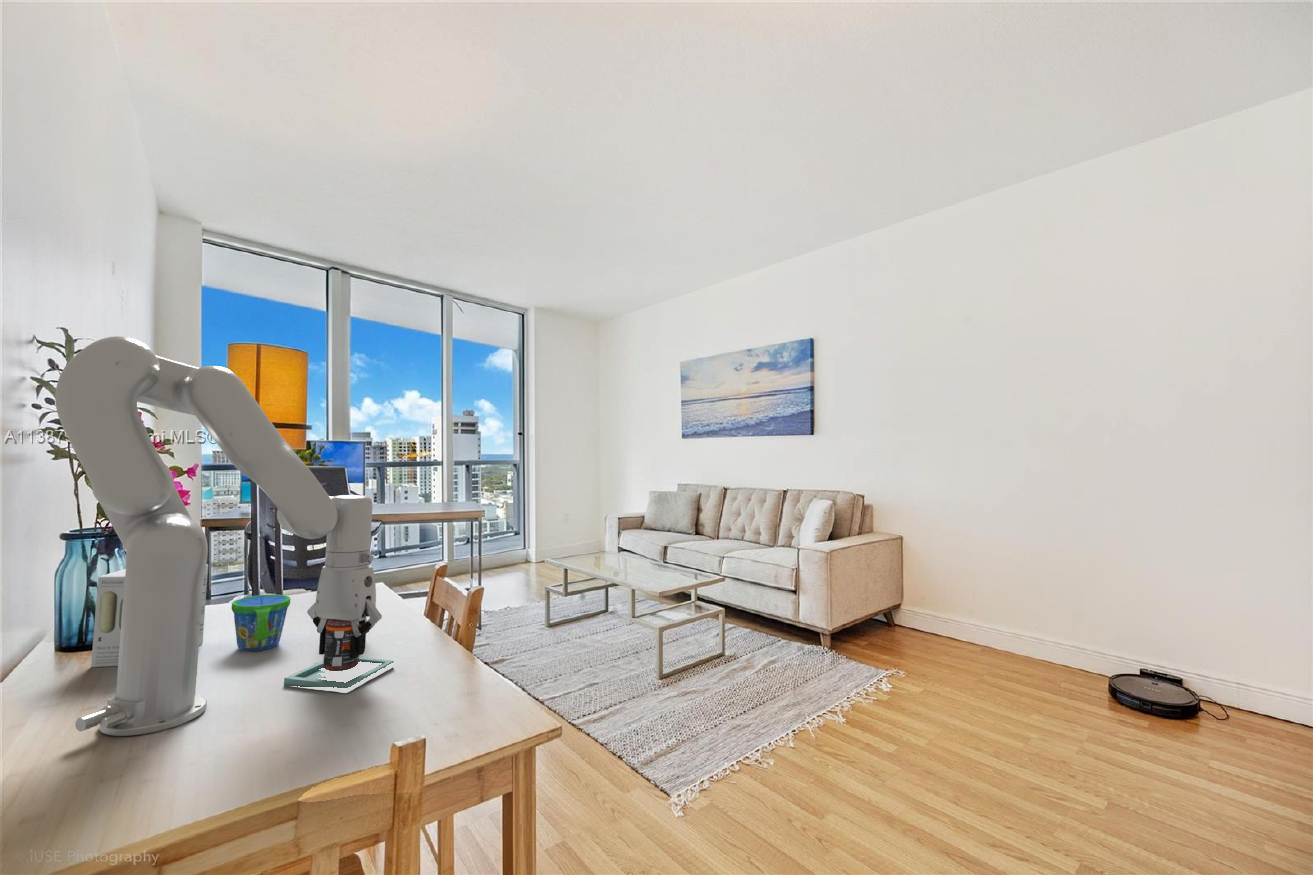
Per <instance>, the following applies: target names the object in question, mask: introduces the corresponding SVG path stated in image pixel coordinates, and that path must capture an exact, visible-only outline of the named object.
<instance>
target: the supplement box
mask: <svg viewBox="0 0 1313 875" xmlns="http://www.w3.org/2000/svg"><path fill="white" fill-rule="evenodd" d="M208 572H209V564H207V563H206V569H205V575H204V582H203V592H202V604H201V621H200V635H199V646H201V645H202V644H203V643H204V627H205V616H206V615H205V614H206V613H205V611H206V601H207V600H206V598H207V585H208V574H209V573H208ZM125 573H126V568H123V569H119V570H118V571H113V572H110V573H107V574H103V575H100V576H98V577H97V589H96V590H97V591H96V601H95V611H94V612H95V613H94V624H93V625H94V627H93V628H94V629H93V637H92V651H91V661H90V662H91V664H90V667H91V668H102V667H118V661H119V648H120V636H121V619H122V606H123V595H124V584H125Z"/></svg>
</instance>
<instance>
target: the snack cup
mask: <svg viewBox="0 0 1313 875" xmlns="http://www.w3.org/2000/svg"><path fill="white" fill-rule="evenodd" d="M290 605H291V597H290V596H289V595H285V594H259V595H252V596H246V597H241V598H238V599H236V600H234V601H233V602H232V603H231V611H232V612H233V619H234V620H233V621H234V629H235V639H236V640H235V641H236V645H237V648H238V649H240V651H241V652H245V651H246V652H247V651H248V652H258V651H262V650H267V649H268V650H269V649H271V648H274V647H275V646H278V645H279V643H280V641H281V637H282V633H283V629H284V625H285V621H286V618H287V617H286V616H287V611H288V608H289V607H290Z"/></svg>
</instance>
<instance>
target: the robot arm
mask: <svg viewBox="0 0 1313 875" xmlns="http://www.w3.org/2000/svg"><path fill="white" fill-rule="evenodd" d="M54 398H55V399H54V400H55V409H56V413H57V416H58V418H59V421H60V424H61V426H62V429H63V431H64V432H65V434H66V437H67V438H68V441H69V443H70V445H71V447H72V449H73V450H74V453H75V456H76V457H77V460H78V461H79V462H80V464H81V467H82V468H83V470H84V473H85V474H86V476H87V478H88V481H89V483H90V486H91V490H92V493H93V497H94V498H95V499H96V501H98V504H100V506H101V508H102V510H103V512H104V513H105V515H106V517H107V518H108V521H109V523H110V525H111V526H112V528H113V530H114V531H115V533H116V535H117V537H118V538H119V540H120V542H121V544H122V545H123V548H124V550H125V552H126V554H125V555H126V557H125V569H126V573H125V584H124V595H123V606H122V619H121V636H120V648H119V661H118V666H117V673H116V674H117V676H116V686H115V687H116V688H115V696H113V697H110V698H107V701H106V706H104V707H102V708H101V709H100V710H99V711H97V712H92V713H89V714H86V715H83V716H80V717H78V718H77V719H76V721H75V723H74V726H75V729H76V730H77V731H78V732H80V733H81V732H84V731H86V730H89V729H91V728H95V727H96V726H98V725H99V727H98V728H99V731H100V732H101V733H102V734H105V735H107V736H114V737H115V736H116V737H127V736H129V737H130V736H138V735H145V734H150V733H155V732H160V731H164V730H168V729H171V728H174V727H177V726H180V725H183V724H185V723H187V722H190V721H191V720H194V719H195V718H197V717H198V716H201V715H202V714H203V713H204V712H205V711H206V709H207V705H208V704H207V699H206V697H204V696H201V695H198V694H196V689H197V688H196V687H197V676H198V675H197V674H198V661H199V660H198V659H199V648H200V645H199V635H200V621H201V604H202V592H203V582H204V575H205V569H206V564H207V563H208V562H207V561H208V554H209V553H208V552H209V549H208V548H209V545H208V540H207V536H206V534H205V532H204V531H203V529H202V528H201V527H200V526H199V524H197V523H196V522H195V521H194V520H193V518H192V517H191V515H190V513H189V511H188V510H187V507H186V505H185V503H184V502H183V499H182V498H181V496H180V495H181V494H180V493H179V492H178V490H177V488H176V486H175V482H174V480H175V479H174V477H173V473H172V472H171V469H170V468H169V467H168V465H166V463H165V462H164V461H163V459H162V458H161V456H160V454H159V452H158V450H157V449H156V447H155V445H154V443H153V441H152V438H151V437H150V435H149V433H148V429H147V427H146V426H145V423H144V422H143V419H142V418H141V416H140V413H139V409H138V404H137V403H141V404H143V405H144V404H145V405H148V406H152V407H156V408H161V409H163V410H168V411H173V412H176V413H182V414H187V415H192V416H194V417H196V419H197V420H198V421H199V423H200V424H201V425H202V426H203V428H204V430H206V432H207V433H208V434H209V435H210V437H211V438H212V439H213V441H214V442H215V443H216V444H217V445H218V447H219V449H220V450H221V451H222V452H223V454H224V455H225V456H226V458H227V459H228V461H229V462H230V463H231V464H232V465H233V466H234V467H235V468H236V469H237V470H238V471H239V472H240V473H241V474H243V475H245V476H246V477H247V478H248V479H250V480H251V481H252V482H253V483H255V484H256V485H257V486H258V487H259V488H260V489H261V491H263V493H264V494H266V496H267V497H268V498H269V499H270V501H272V502H271V503H273V504H274V506H275V507H276V508H277V512H276V518H277V521H278V523H279V525H280V526H281V527H282V528H283V529H284V530H285V531H287V532H288V533H289V534H290V533H291V534H293V535H295V536H298V537H300V538H303V539H306V540H315V539H320V538H323V537H325V536H326V543H325V558H324V560H325V561H324V566H322V567H321V571H320V575H319V578H318V583H317V589H316V596H315V602H314V603H313V604H312V605H311V606H310V607H309V608H308V609H307V612H306V614H307V615H308V616H309V617H310V619H311V620H312V622H313V624H314V625H315V627H316V632H317V633H318V634H319V643H318V644H319V646H318V654H319V655H322V656H324V651H325V638H326V625H327V622H328V620H332V619H337V620H343V621H350V622H351V625H352V629H353V632H354V636H353V637H351V645H350V658H355V657H358V656H359V657H361V656H362V655H364V654H365V651H366V641H367V639H366V638H367V637H366V636H367V634H368V633H369V632H370V630H371V629H372V628H374V626H375V625H376V624H377V623H378V622H379V621H380V620H381V619H382V618H383V615H382V614H381V612H380V611H379V609H378V608H377V604H376V602H377V587H376V576H375V571H374V567H373V566H372V565H370V563H372V562H373V561H374V558H375V557H374V555H373V554H370V553H371V541H372V540H371V538H372V522H373V521H372V520H373V516H372V515H373V500H372V498H371V497H370V496H368V495H362V494H361V495H360V494H359V495H358V494H347V495H346V494H341V495H339V494H338V495H335V496H330V495H329V494H328V492H327V491H326V490H325V488H324V487H323V485H322V484H321V482H320V481H319V480H318V479H317V477H316V476H315V475H314V473H313V472H312V470H310V468H309V467H308V465H306V464H305V463H304V462H303V460H302V459H301V457H299V456H298V455H297V453H296V452H295V451H294V449H293V448H292V446H291V445H290V444H289V443H288V442H287V441H286V440H285V438H283V436H282V435H281V433H280V432H279V431H278V429H277V428H276V427H275V425H274V424H273V423H272V422H271V420H270V419H269V417H268V416H267V414H266V413H265V411H264V410H263V409H262V407H261V406H260V404H259V403H258V401H257V399H255V397H254V396H253V395H252V393H251V392H250V391H249V389H248V388H247V386H246V385H245V383H244V382H243V381H242V380H241V379H240V377H239V376H238V375H237V374H236V373H235V372H233V371H232V370H230V369H229V368H226V367H223V366H218V365H207V366H200V367H198V366H194V365H193V366H192V365H189V364H186V363H182V362H178V361H175V360H172V359H168V358H165V357H161V356H158V355H156V353H155V352H154V350H152V348H150V347H149V346H148V345H147V344H146V343H144V342H142V341H140V340H138V339H135V338H132V337H128V336H117V335H116V336H109V337H104V338H100V339H99V340H95V341H93V342H92V343H90V344H88V345H87V346H85V347H84V348H83V349H81V350H80V351H79V352H77V354H75V355H74V356H73V357H72V358H71V359H70V360H69V361H68V363H66V365H65V366H64V368H63V369H62V371H61V373H60V375H59V377H58V380H57V382H56V387H55V397H54ZM368 617H369V618H368ZM367 619H368V620H367ZM359 621H360V625H361V627H360V625H359Z"/></svg>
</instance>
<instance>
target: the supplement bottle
mask: <svg viewBox="0 0 1313 875" xmlns="http://www.w3.org/2000/svg"><path fill="white" fill-rule="evenodd" d="M359 625H360V621H359ZM360 627H361V625H360ZM353 636H354V632H353V629H352V625H351V622H350V621H343V620H337V619H332V620H328V622H327V625H326V638H325V651H324V654H323V661H324V668H325V669H326V670H329V671H343V670H348V669H351V668H353V667H355V666H356V665H357V664H358V662H359V657H360V656H358V657H355V658H350V645H351V637H353Z"/></svg>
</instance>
